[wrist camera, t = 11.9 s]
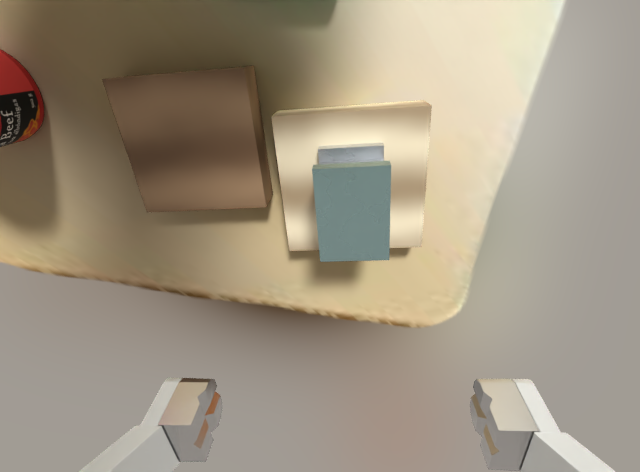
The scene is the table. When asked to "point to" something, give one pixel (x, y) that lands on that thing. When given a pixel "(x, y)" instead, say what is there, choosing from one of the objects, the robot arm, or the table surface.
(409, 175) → the stand
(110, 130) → the table surface
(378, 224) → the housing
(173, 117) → the stand
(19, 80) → the canned food
